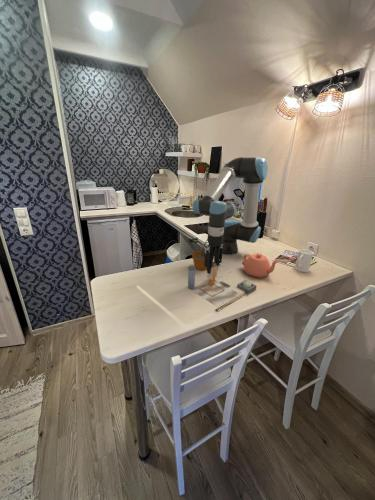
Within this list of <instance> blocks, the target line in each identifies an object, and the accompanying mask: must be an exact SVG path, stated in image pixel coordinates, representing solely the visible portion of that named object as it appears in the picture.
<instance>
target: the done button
mask: <svg viewBox="0 0 375 500" xmlns="http://www.w3.org/2000/svg"><path fill="white" fill-rule="evenodd" d="M243 281H244V282H243ZM243 281H242V282H243V286H244V287H246V288H250V287H251V285H252V284H253V283H252V282H251V281H248V280H246V281H245V280H243ZM251 283H252V284H251Z"/></svg>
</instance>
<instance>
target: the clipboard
mask: <svg viewBox="0 0 375 500" xmlns="http://www.w3.org/2000/svg"><path fill="white" fill-rule="evenodd" d="M208 279H209V278H207V277H206V278H205V279H202V280H200V281H198V282H195V286H194V289H189V288H188V286H186V287H187V288H188V289H189V290H191V292H193V293H195V294H197V295H198V296H200V297H201V298H202V299H205V300H206V301H207V302H209V303H210V304H212V305H213V306H215V307H216V308H215V309H216V310H217V311H218V310H219V309H221V308H223V307H225V306H226V307H228V306H229V305H228V304H230V303H231V304H233V303H234V301H235V300H236V301H238V300H239V298H240V299H241V298H242V296H243V297H245V293H243V292H242V293H240V292H237V291H236V290H234V289H233V288H231V285H230V284H228V283H226V282H224V281H222V280H221V281H217V280H216V279H215V283H214V285H209V284H208ZM237 299H238V300H237ZM236 301H235V302H236ZM232 302H233V303H232ZM231 304H230V305H231ZM227 305H228V306H227ZM226 307H225V308H226ZM223 309H224V308H223ZM216 310H215V311H216ZM221 310H222V309H221ZM217 311H216V312H217ZM218 312H219V311H218Z"/></svg>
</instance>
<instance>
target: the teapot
mask: <svg viewBox="0 0 375 500" xmlns="http://www.w3.org/2000/svg"><path fill="white" fill-rule="evenodd" d="M278 262H280V260H273V261H272V263H270V261H269V259H268V257H267V256H265V255H263V254H262V253H259V252H258V253H252V254H250V253H245V254H244V256H243V261H242V265H243V267H242V268H243V270H244V272H245V273H246V274H247V275H249V276H250V277H253V278H265V277H267V276H268V275H270V274H271V273H273V272H274V271H275V267H276V264H277V263H278Z"/></svg>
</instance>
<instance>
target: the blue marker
mask: <svg viewBox="0 0 375 500" xmlns="http://www.w3.org/2000/svg"><path fill="white" fill-rule="evenodd" d="M187 268H188V270H187V271H188V272H187V287H188V289H189V290H190V289H194V286H195V284H196V268H195V266H194V264H190V265H188V266H187Z"/></svg>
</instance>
